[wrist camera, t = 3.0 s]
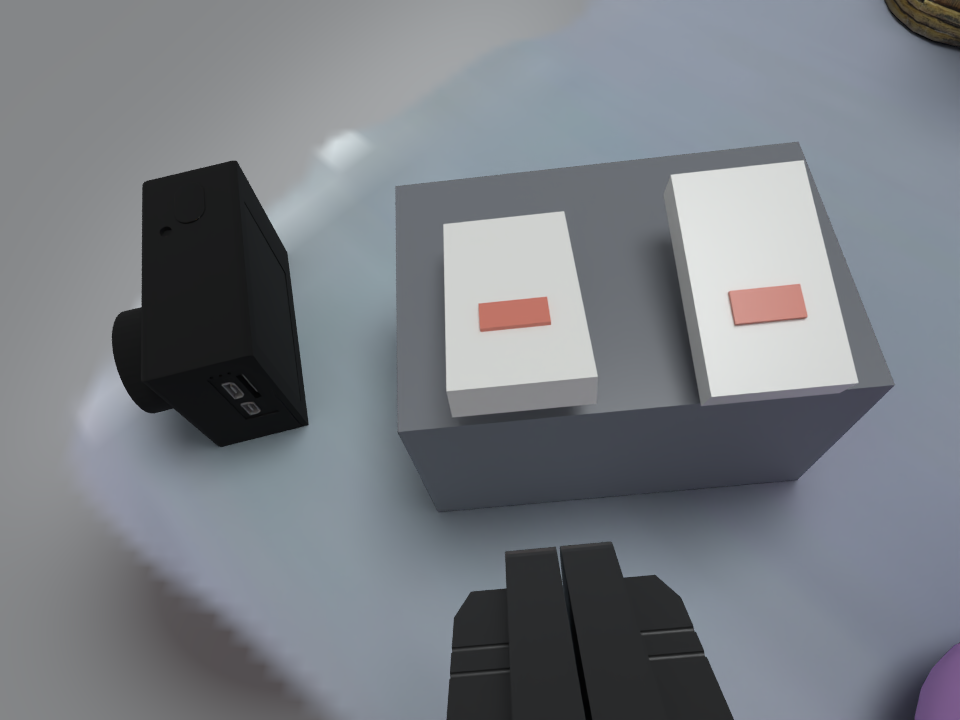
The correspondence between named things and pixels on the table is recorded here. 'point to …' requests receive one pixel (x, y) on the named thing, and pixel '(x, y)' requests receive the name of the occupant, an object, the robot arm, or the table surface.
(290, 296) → the digital camera
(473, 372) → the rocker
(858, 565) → the table surface
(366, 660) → the table surface
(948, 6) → the wooden mug
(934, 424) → the table surface
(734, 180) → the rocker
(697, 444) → the switch box
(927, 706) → the teapot
